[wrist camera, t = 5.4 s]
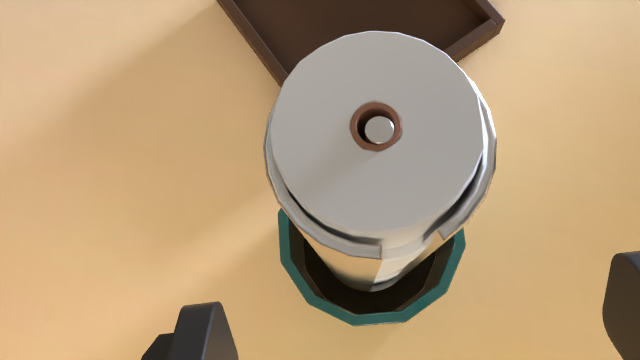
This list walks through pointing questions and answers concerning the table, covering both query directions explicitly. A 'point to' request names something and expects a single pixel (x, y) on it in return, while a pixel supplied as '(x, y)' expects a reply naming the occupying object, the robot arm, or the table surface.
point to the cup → (431, 291)
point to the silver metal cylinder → (379, 153)
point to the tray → (357, 25)
